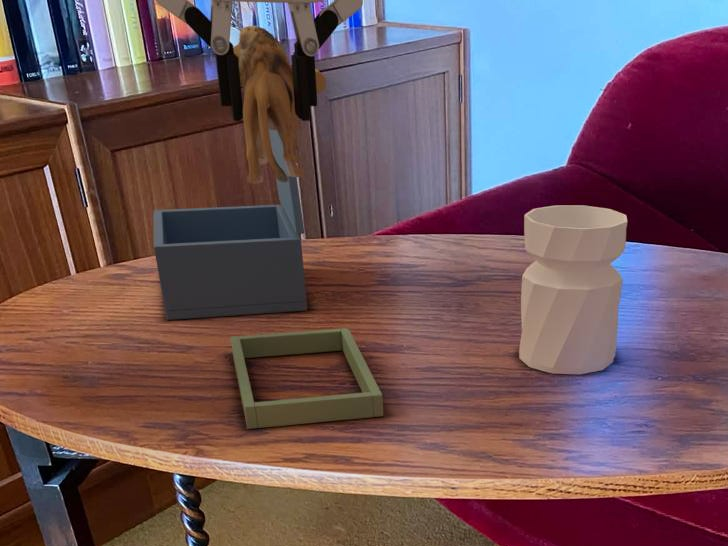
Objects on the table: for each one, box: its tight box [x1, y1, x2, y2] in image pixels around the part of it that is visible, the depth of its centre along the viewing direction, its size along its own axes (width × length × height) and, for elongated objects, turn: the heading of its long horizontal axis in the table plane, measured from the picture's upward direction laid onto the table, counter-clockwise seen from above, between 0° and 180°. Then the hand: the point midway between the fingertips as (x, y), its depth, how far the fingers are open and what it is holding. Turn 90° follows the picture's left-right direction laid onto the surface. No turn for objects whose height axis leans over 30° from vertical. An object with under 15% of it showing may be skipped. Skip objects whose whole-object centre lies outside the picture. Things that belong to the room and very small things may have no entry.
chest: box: [153, 204, 308, 321], centre depth 100 cm, size 14×16×7 cm
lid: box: [268, 68, 327, 235], centre depth 95 cm, size 15×16×5 cm
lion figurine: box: [233, 25, 306, 185], centre depth 70 cm, size 15×5×9 cm, turn 17°
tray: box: [229, 327, 384, 430], centre depth 81 cm, size 11×17×2 cm, turn 15°
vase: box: [518, 205, 628, 376], centre depth 84 cm, size 9×9×12 cm
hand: (270, 115), depth 69 cm, fingers closed on lion figurine, 4 cm apart
